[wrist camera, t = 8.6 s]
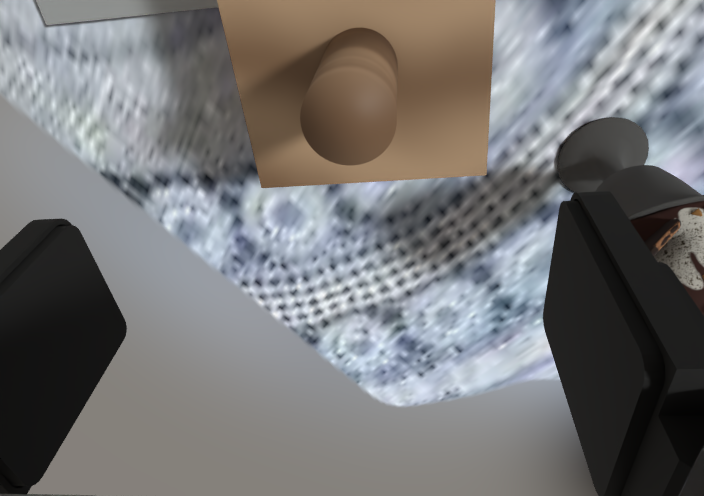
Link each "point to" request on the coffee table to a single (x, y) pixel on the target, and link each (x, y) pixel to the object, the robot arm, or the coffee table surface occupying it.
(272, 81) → the lid
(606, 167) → the sundae
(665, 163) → the coffee table surface
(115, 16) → the mat
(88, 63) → the coffee table surface
